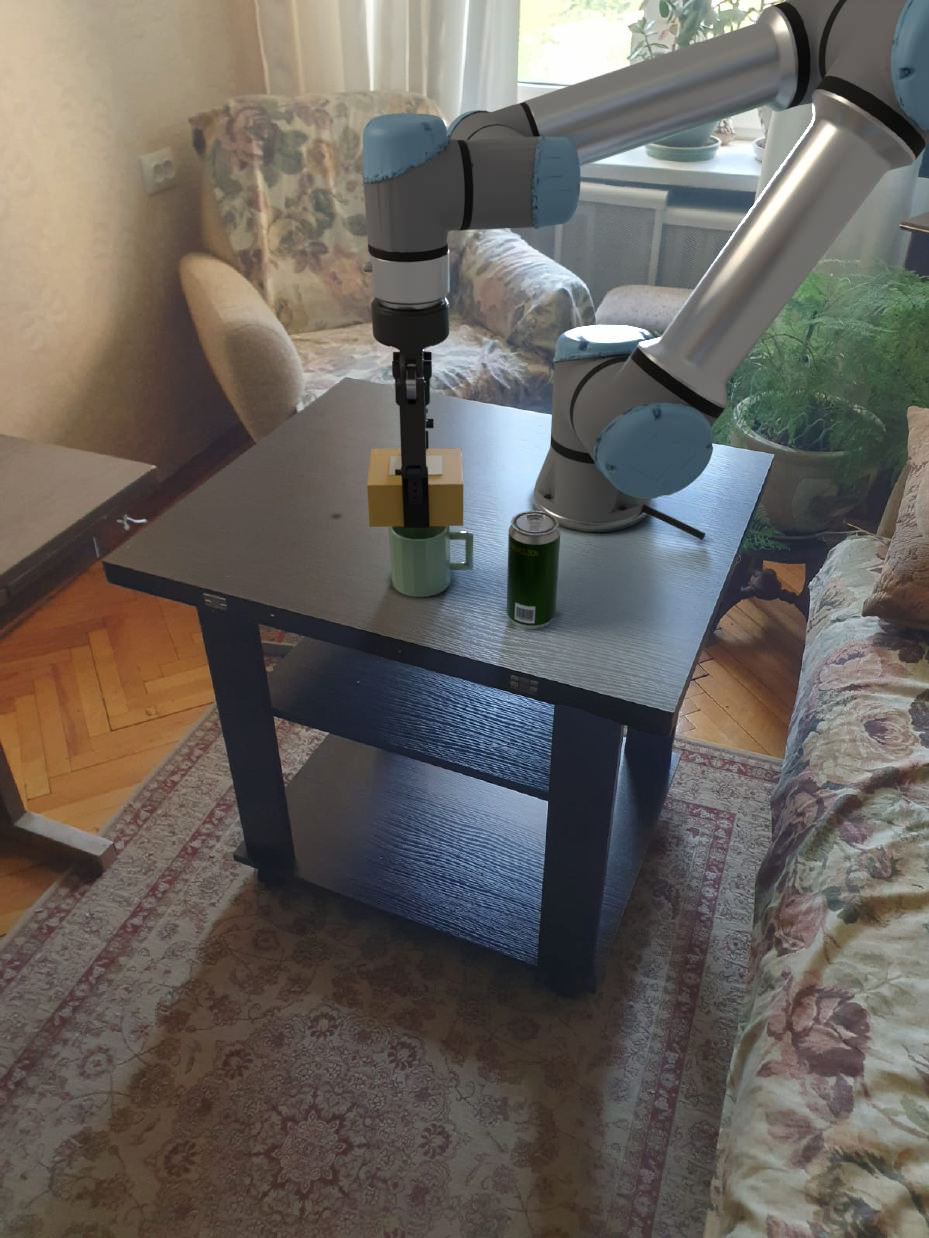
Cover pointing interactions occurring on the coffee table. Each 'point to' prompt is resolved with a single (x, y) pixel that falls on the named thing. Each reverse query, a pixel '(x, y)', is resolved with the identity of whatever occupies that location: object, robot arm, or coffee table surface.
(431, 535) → the cup
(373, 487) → the tea packet
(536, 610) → the beer can
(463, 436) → the coffee table surface
